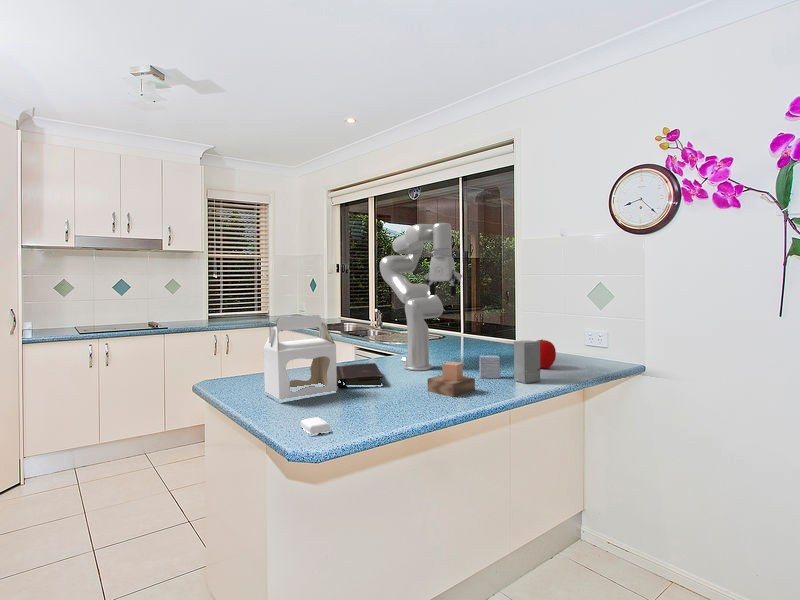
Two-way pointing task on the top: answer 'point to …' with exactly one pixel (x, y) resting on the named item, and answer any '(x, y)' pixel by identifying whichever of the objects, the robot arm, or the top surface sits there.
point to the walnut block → (451, 386)
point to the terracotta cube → (452, 371)
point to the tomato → (546, 353)
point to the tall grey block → (527, 361)
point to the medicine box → (489, 367)
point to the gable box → (283, 352)
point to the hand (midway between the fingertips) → (442, 295)
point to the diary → (359, 374)
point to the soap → (315, 425)
